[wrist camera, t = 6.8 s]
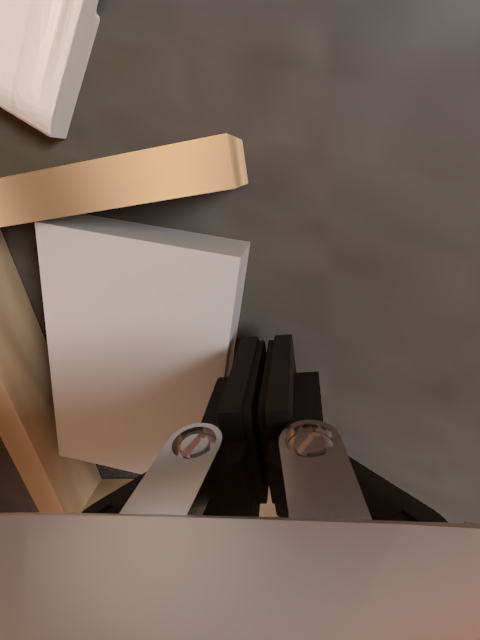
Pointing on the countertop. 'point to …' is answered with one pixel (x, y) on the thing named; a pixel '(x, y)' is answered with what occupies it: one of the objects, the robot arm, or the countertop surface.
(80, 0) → the external hard drive
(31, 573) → the robot arm
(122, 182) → the pine rack
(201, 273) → the light grey slab
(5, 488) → the countertop surface
